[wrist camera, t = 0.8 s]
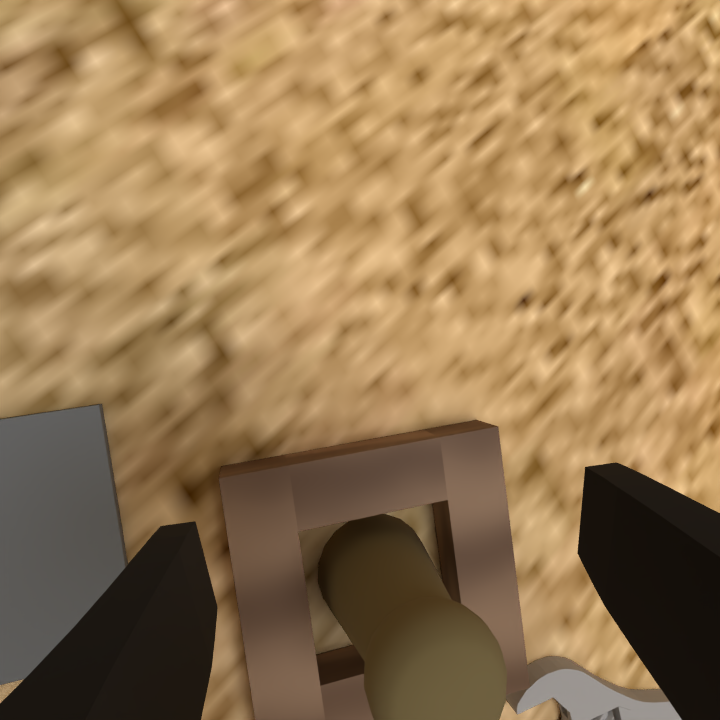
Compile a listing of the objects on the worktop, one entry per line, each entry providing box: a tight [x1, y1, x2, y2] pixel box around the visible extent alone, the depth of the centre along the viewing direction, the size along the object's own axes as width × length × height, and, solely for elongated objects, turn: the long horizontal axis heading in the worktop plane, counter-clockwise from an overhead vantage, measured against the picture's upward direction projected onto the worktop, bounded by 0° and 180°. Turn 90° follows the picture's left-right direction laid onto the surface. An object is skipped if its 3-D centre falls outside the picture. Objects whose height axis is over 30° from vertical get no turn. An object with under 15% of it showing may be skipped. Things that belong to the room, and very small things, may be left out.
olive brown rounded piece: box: [318, 514, 507, 720], centre depth 23 cm, size 6×6×11 cm
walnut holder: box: [219, 420, 530, 720], centre depth 27 cm, size 14×14×2 cm
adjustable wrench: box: [506, 656, 682, 720], centre depth 32 cm, size 25×6×2 cm, turn 78°
